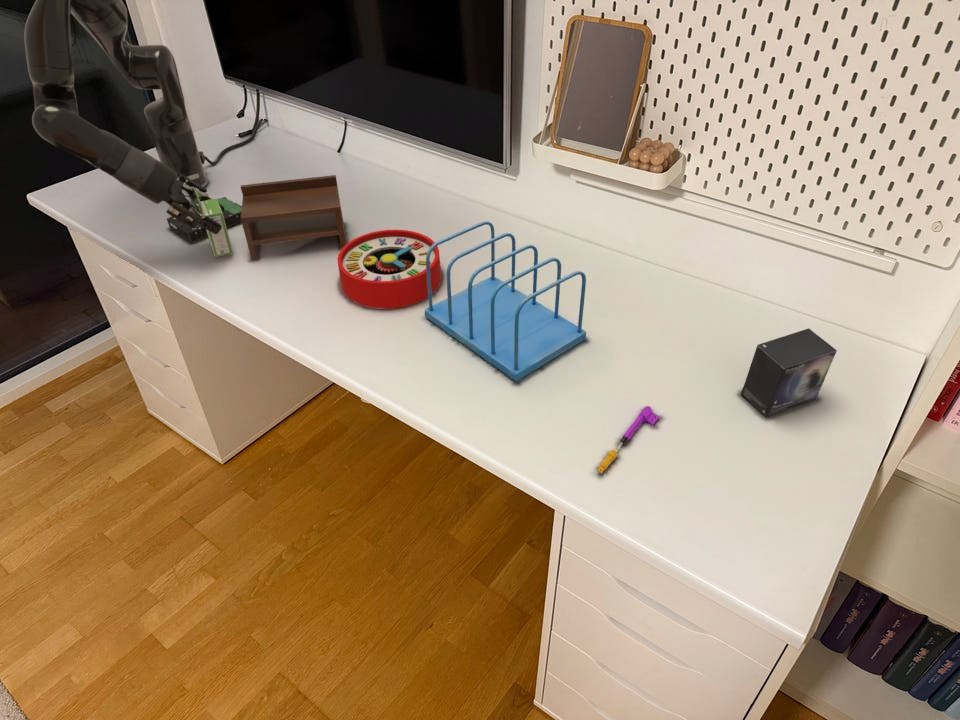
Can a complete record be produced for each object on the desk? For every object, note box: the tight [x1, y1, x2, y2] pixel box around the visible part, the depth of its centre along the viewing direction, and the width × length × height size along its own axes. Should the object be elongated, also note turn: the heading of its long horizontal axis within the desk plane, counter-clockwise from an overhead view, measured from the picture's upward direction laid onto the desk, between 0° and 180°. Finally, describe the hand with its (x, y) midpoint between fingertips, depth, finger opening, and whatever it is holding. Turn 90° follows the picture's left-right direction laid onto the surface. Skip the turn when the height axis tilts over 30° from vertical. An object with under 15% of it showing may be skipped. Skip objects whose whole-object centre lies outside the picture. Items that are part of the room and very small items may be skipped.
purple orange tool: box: [597, 405, 660, 474], centre depth 104 cm, size 3×1×16 cm
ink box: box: [193, 187, 234, 258], centre depth 144 cm, size 7×4×13 cm, turn 26°
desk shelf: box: [240, 174, 347, 261], centre depth 148 cm, size 11×20×12 cm, turn 102°
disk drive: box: [166, 196, 242, 243], centre depth 158 cm, size 10×3×15 cm
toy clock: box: [336, 229, 442, 310], centre depth 138 cm, size 20×6×20 cm
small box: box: [740, 328, 838, 418], centre depth 108 cm, size 11×6×10 cm, turn 114°
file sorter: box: [424, 220, 587, 382], centre depth 122 cm, size 25×17×15 cm
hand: (221, 220), depth 144 cm, fingers closed on ink box, 7 cm apart
